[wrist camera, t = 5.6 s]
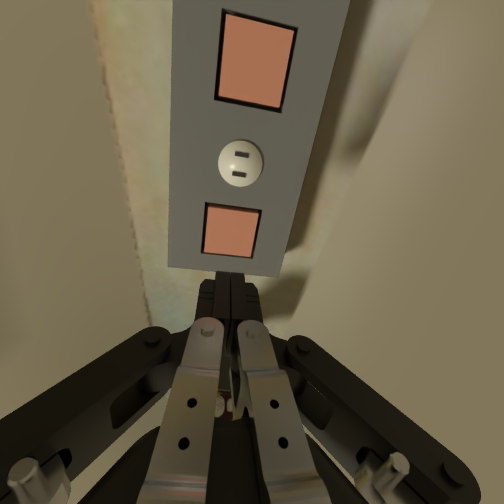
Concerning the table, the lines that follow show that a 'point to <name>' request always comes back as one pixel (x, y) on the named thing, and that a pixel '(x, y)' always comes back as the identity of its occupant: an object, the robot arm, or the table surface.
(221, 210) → the switch
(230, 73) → the switch
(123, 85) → the table surface
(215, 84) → the power strip
